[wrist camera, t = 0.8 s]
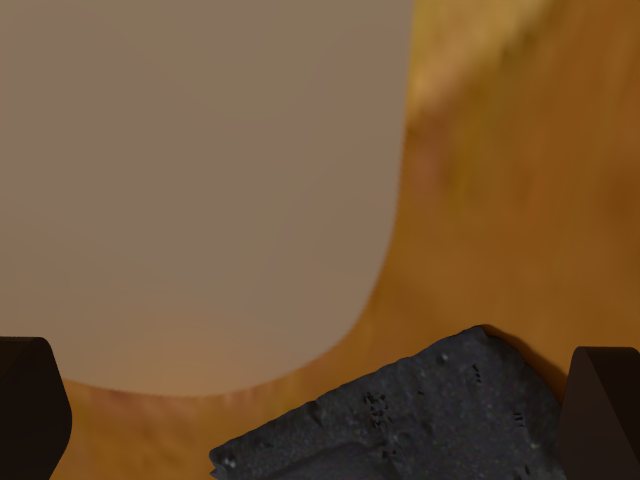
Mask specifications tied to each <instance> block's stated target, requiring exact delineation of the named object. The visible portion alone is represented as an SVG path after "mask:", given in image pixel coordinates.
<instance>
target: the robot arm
mask: <svg viewBox="0 0 640 480" xmlns="http://www.w3.org/2000/svg"><path fill="white" fill-rule="evenodd" d="M71 429H72V412H71V407H70V404H69V401H68V398H67V395H66V392H65V389H64V386H63V382H62V379H61V376H60V374H59V370H58V367H57V364H56V361H55V358H54V355H53V352H52V349H51V346H50V345H49V343H48V341H47V340H46V339H44V338H42V337H1V336H0V480H49V478H50V477H51V475H52V473H53V471H54V469H55V468H56V466H57V464H58V462H59V460H60V459H61V457H62V455H63V453H64V451H65V449H66V447H67V445H68V442H69V439H70V435H71ZM558 444H559V453H560V459H561V463H562V467H563V470H564V473H565V476H566V479H567V480H640V353H639V352H638V351H637V350H636V349H635V348H633V347H587V346H579V347H577V348H576V349H575V351H574V353H573V356H572V360H571V365H570V370H569V375H568V380H567V384H566V389H565V394H564V399H563V404H562V409H561V414H560V419H559V425H558Z"/></svg>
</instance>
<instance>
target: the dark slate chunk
mask: <svg viewBox="0 0 640 480" xmlns="http://www.w3.org/2000/svg"><path fill="white" fill-rule="evenodd" d="M561 409H562V408H561V407H560V405H559V404H558V401H557V399H556V398H555V396H554V394H553V393H552V391H551V390H550V388H549V387H548V385H547V384H546V383H545V381H544V380H543V379H541V378H540V377H539V376H538V375H536V374H535V371H534V370H533V369H531V368H530V367H529V366H528V365H527V364H526V363H524V361H523V358H522V357H521V355H520V354H519V353H518V351H517V350H516V349H515V348H513V347H510V346H508V344H507V343H506V342H504V341H503V340H501V339H499V338H496V337H492V336H488V335H485V333H484V331H483V329H482V327H481V326H480V327H473V328H469V329H466V330H463V331H462V332H461V333H459V334H457V335H453V336H449V337H446V338H443V339H441V340H439V341H437V342H435V343H433V344H432V345H430V346H429V347H428V348H426V349H424V350H422V351H421V352H419V353H418V354H416V355H414V356H411V357H406V358H402V359H399V360H398V361H397V362H395V363H392V364H388V365H385V366H383V367H382V368H380V369H379V370H377V371H376V372H373V373H370V374H367V375H364V376H362V377H360V378H358V379H355V380H353V381H351V382H348V383H345V384H343V385H341V386H340V387H338V388H337V389H334V390H331V391H329V392H327V393H325V394H324V395H322V396H320V397H318V398H317V399H316V400H315V401H309V402H306V403H305V404H304V405H302V406H300V407H298V408H296V409H293V410H290V411H288V412H287V413H285V414H284V415H282V416H280V417H278V418H276V419H274V420H271V421H269V422H267V423H266V424H264V425H262V426H260V427H259V428H257V429H254V430H252V431H249V432H247V433H246V434H244V435H242V436H240V437H237V438H234V439H231V440H229V441H227V442H226V443H225V444H223V445H221V446H219V447H216V448H214V449H212V450H211V451H210V453H209V458H210V460H211V462H212V463H213V465H214V466H215V467H216V468H215V470H213V471H212V472H211V473H210V475H211V476H213V477H215V478H216V479H218V480H567V479H566V476H565V473H564V470H563V467H562V463H561V459H560V453H559V444H558V425H559V419H560V414H561Z"/></svg>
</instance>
